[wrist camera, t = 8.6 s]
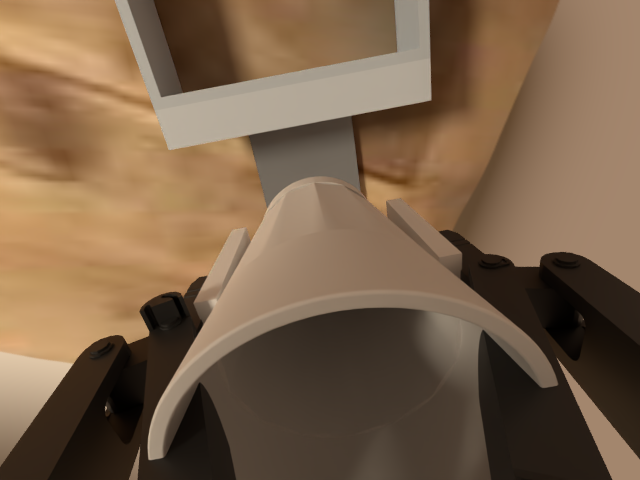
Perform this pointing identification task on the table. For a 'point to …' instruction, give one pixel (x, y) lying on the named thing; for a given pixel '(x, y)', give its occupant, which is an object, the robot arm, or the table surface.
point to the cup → (343, 351)
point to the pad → (305, 154)
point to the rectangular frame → (279, 83)
